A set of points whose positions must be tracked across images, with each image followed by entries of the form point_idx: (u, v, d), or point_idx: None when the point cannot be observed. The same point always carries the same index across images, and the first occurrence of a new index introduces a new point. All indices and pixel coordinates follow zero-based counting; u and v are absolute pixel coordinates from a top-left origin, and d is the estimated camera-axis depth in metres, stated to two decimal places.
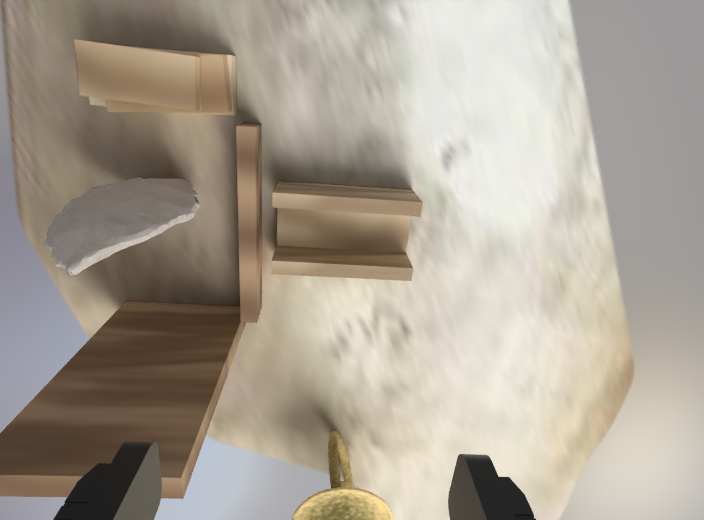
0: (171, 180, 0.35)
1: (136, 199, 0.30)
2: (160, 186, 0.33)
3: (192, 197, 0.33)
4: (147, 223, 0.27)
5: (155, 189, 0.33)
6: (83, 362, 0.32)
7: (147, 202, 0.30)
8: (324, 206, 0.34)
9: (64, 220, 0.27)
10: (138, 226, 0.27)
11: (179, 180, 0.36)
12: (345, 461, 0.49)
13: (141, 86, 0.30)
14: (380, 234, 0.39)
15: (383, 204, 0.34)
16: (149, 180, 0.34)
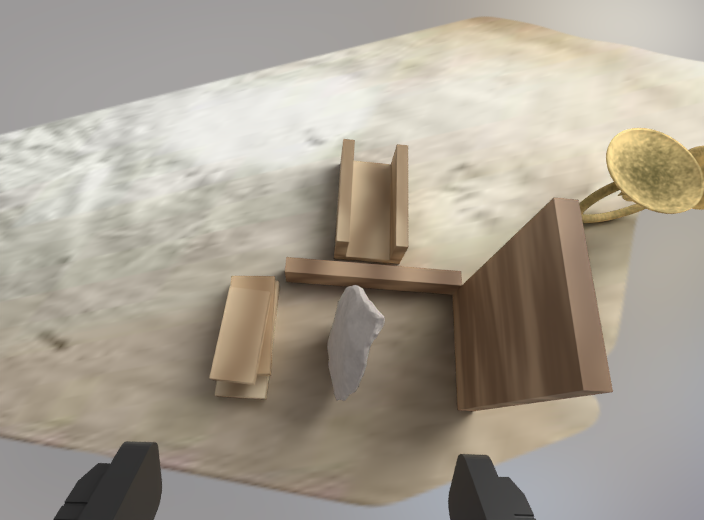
0: (330, 333, 0.40)
1: (336, 326, 0.35)
2: (332, 331, 0.38)
3: None
4: (349, 290, 0.32)
5: (333, 330, 0.37)
6: (500, 387, 0.32)
7: (338, 314, 0.35)
8: (347, 203, 0.43)
9: (347, 358, 0.30)
10: (350, 294, 0.32)
11: (331, 329, 0.40)
12: (611, 213, 0.50)
13: (249, 330, 0.37)
14: (376, 182, 0.48)
15: (345, 163, 0.44)
16: (328, 344, 0.38)
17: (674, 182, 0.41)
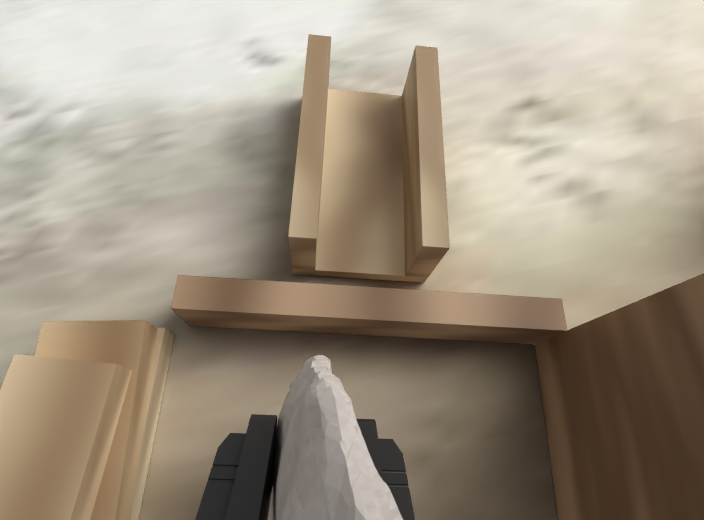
0: None
1: (274, 486, 0.12)
2: None
3: (294, 381, 0.15)
4: (303, 398, 0.09)
5: None
6: None
7: (277, 450, 0.12)
8: (315, 157, 0.20)
9: None
10: (305, 418, 0.09)
11: None
12: None
13: (46, 474, 0.14)
14: (375, 126, 0.25)
15: (311, 79, 0.22)
16: None
17: None
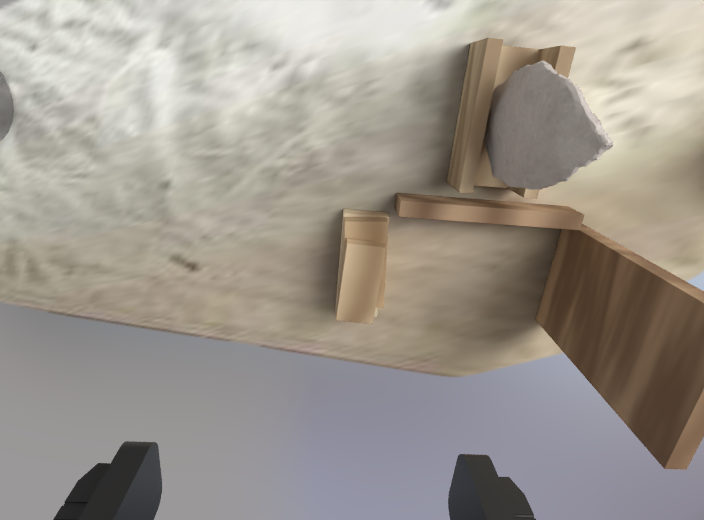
0: (492, 103, 0.36)
1: (520, 115, 0.31)
2: (501, 107, 0.34)
3: (519, 70, 0.32)
4: (558, 86, 0.27)
5: (506, 109, 0.33)
6: (587, 365, 0.38)
7: (526, 102, 0.30)
8: (478, 144, 0.36)
9: (542, 167, 0.29)
10: (561, 93, 0.27)
11: (492, 97, 0.36)
12: None
13: (367, 283, 0.40)
14: None
15: (484, 82, 0.34)
16: (492, 120, 0.35)
17: None
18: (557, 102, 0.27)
